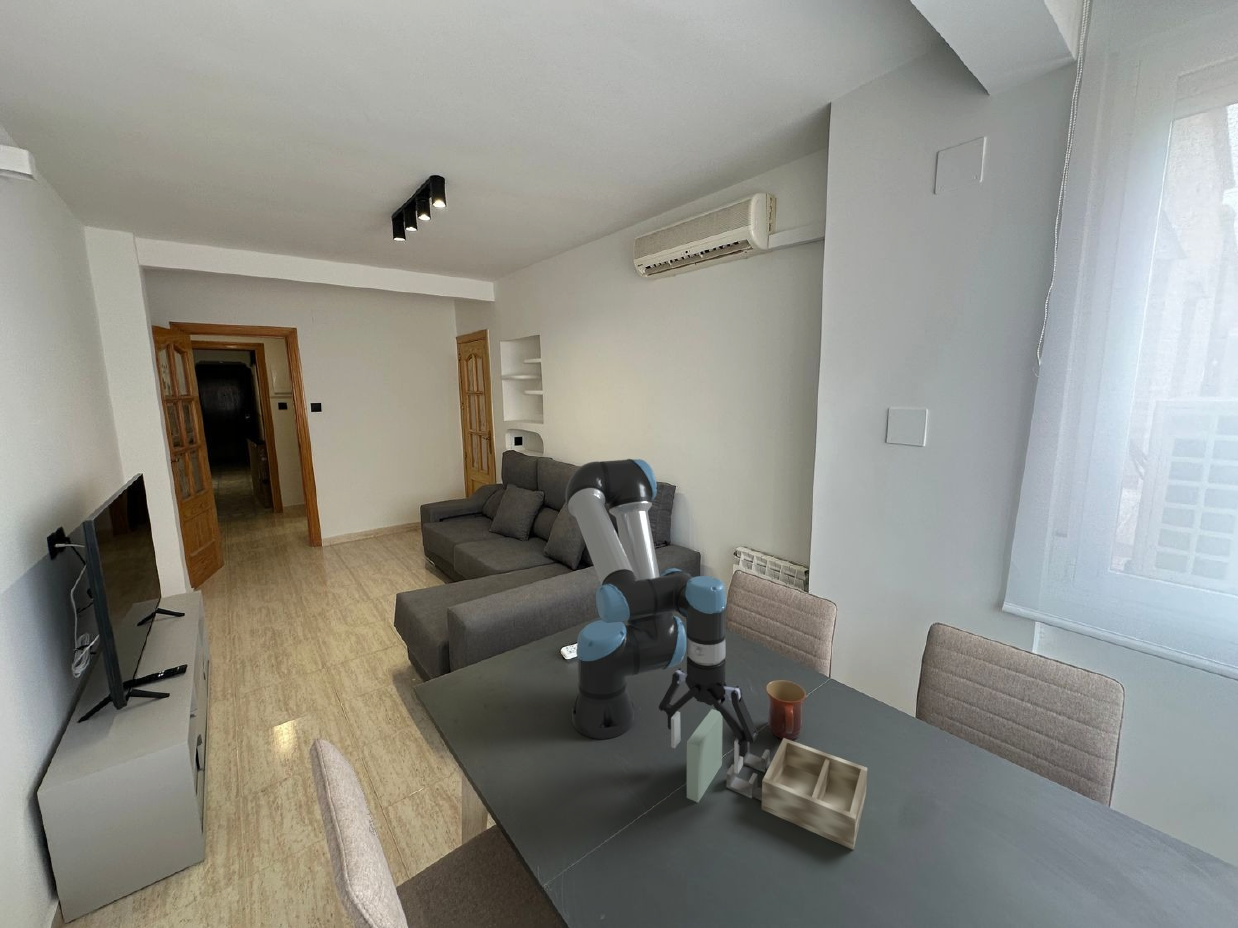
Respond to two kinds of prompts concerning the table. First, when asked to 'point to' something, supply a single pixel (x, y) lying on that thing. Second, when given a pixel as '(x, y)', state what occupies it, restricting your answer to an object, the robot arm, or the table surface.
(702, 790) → the block
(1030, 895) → the table surface
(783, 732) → the mug
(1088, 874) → the table surface
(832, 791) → the wooden divided box
